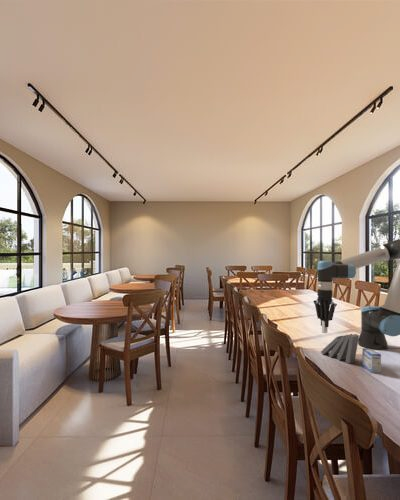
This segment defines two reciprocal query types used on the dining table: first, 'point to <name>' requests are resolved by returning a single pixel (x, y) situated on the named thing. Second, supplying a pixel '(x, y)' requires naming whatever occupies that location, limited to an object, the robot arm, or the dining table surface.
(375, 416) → the dining table surface
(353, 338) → the domino
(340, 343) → the domino
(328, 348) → the domino
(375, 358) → the medicine box
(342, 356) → the domino
